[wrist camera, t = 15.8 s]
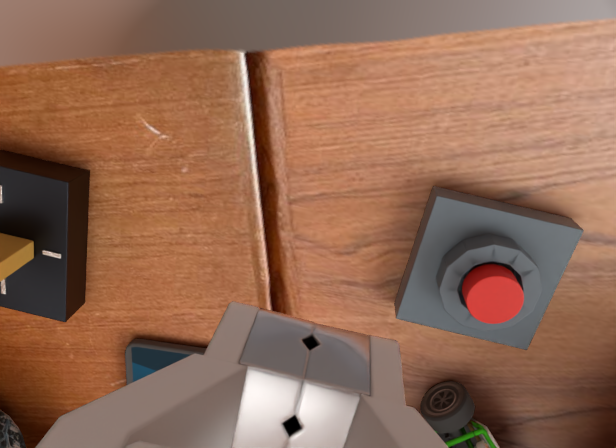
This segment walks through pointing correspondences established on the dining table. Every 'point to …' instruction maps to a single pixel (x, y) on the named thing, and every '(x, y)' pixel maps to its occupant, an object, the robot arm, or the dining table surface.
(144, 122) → the dining table surface
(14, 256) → the thumb turn
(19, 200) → the plate
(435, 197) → the grey button base
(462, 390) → the motor vehicle
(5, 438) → the decorative stone
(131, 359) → the smartphone
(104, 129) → the dining table surface
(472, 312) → the bell button
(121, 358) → the dining table surface
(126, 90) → the dining table surface
